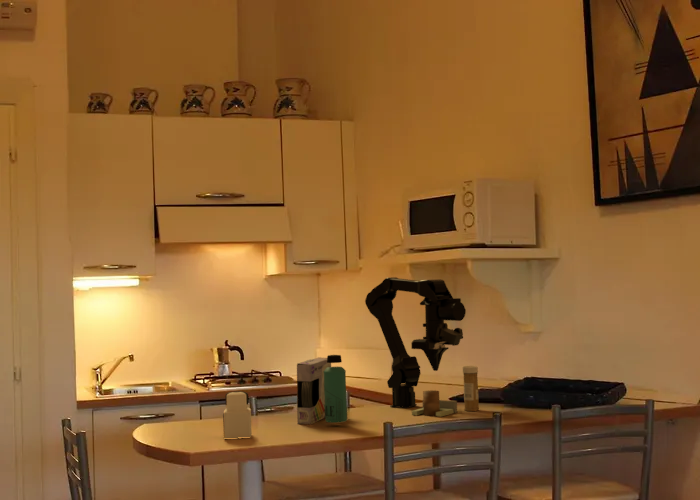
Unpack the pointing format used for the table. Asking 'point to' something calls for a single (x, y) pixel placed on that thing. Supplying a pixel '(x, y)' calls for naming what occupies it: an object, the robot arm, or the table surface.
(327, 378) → the beverage bottle
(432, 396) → the brown piece
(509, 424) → the table surface
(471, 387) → the sprinkles bottle
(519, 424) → the table surface
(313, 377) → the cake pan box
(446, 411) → the bracket
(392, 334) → the robot arm
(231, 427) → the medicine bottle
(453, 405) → the backstop wall
